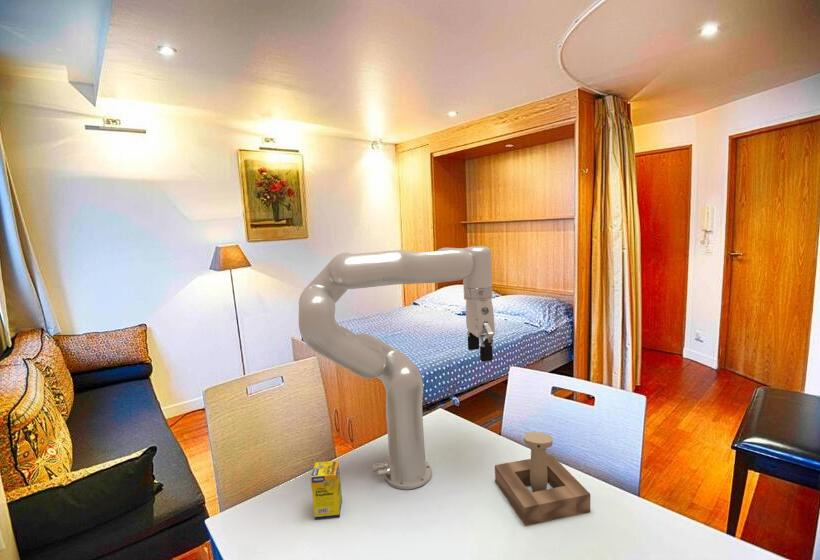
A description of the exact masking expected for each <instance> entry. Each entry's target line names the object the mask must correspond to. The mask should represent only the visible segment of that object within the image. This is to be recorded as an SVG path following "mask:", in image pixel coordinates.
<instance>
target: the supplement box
mask: <svg viewBox="0 0 820 560" xmlns="http://www.w3.org/2000/svg"><path fill="white" fill-rule="evenodd" d="M313 465H314V466H313V469H312V472H311V474H310V483H311V494H312V504H313V514H314V520H316V521H317V520H325V519H334V518H336V519H337V518H340V517H341V508H342V503H343V494H342V485H341V484H342V483H341V474H340V473H341V472H340V462H339V460H330V461H329V460H328V461H319V462H318V461H316V462H314V464H313Z"/></svg>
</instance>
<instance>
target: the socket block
mask: <svg viewBox="0 0 820 560" xmlns="http://www.w3.org/2000/svg"><path fill="white" fill-rule="evenodd" d="M530 463H531V458H527V459H523V460H522V459H521V460H520V459H519V460H515V461H510V462H505V463H499V464H495V465H494V480H495V481H494V482H495V483H496V485H497V486H498V487H499V490H501V492H502V494H503V496H504V497H505V499H506V501H508V503H509V505H510V506H511V507H512V510H513V511H514V512H515V514H516V515H517V516H518V518H519V520H520V522H521V523H522V525H523V526H524V527H527V526H532V525H537V524H542V523H546V522H550V521H551V522H552V521H555V520H560V519H565V518H569V517H574V516H577V515H584V514H588V513H591V493H590V492H589V491H588V490H587V488H585V486H584V485H582V484H581V483H580V482H579V481H578V480H577V478H576V477H575V476H573V475H572V473H570V472H569V470H568V469H567V468H566V467H565V466H563V464H562V463H561V462H560V461H559V460H558V459H557V458H556V457H555V456H554V455H553V454H549V455H546V463H547V484H549V485H550V487H551V488H548V489H546V490H542V491H537V492H532V491H529V489H528V488H527V487H531V482H530Z"/></svg>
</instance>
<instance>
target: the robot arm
mask: <svg viewBox="0 0 820 560" xmlns="http://www.w3.org/2000/svg"><path fill="white" fill-rule="evenodd" d="M492 267H493V266H492V251H491V248H490V247H488V246H485V245H481V246H480V245H478V246H477V245H475V246H474V245H473V246H468V247H463V248H461V247H460V248H459V247H458V248H457V247H442V248H439V249H437V250H436V251H420V252H419V251H411V250H410V251H409V250H401V249H400V250H386V251H383V250H382V251H376V252H375V251H374V252H360V253H349V252H341V253H339V254H336V256H334V257H333V258H332V259H331V260H330V261H329V262H328V263H327V264H326V265H325V267H324V268H323V269H322V270H321V271H320V272H319V273H318V274H317V275H316V276H315V277H314V278H313V279H312V280H311V281H310V283H309V284H308V285H307V286H306V287H305V288H304V289H303V290H302V292H301V294H300V295H299V299H298V327H299V328H298V329H299V333H300V336H301V338H302V340H303V341H304V343H305V344H306V346H308V347H309V349H311V350H313V352H316V353H317V354H319V355H321V356H322V357H324V358H326V359H327V360H329V361H331V362H333V363H334V364H336V365H338V366H340V367H342V368H344V369H345V370H347V371H349V372H351V373H352V374H354V375H356V376H358V377H360V378H362V379H366V380H372V379H376V378H377V379H379V380H380V381H381V382H382V385H383V386H384V389H385V415H386V418H385V419H386V428H387V441H388V456H387V457H386V459H387V460H383V462H378V463H372V464H371V465H372V472H373V473H374V472H377V473H378V476H383V475H384V478H385V479H384V480H385V481H386V483H388V484H389V485H390V486H391V487H393V488H396V489H399V490H412V489H417V488H421V487H422V486H424V485H426V483H428V482H429V481H430V479H431V478H432V467H431V465H430V463H428V461H426V450H425V434H424V433H425V432H424V418H423V416H424V415H423V395H424V380H423V377H422V375H421V372H420V370H419V369H418V367H417V365H415V364H414V362H413V361H411V360H410V358H409V357H407V355H406V354H404V352H402V351H400V350H398V349H396V348H395V347H393V346H391V345H389V344H388V343H386V342H384V341H382V340H380V339H379V338H377V337H376V336H373V335H372V334H369V333H364V332H362V333H354V332H353V331H352V330H350V329H348V328H346V327H344V326H342V325H340V324H339V323H338V322H337V321H336V317H335V314H336V303H337V302H338V301H339V300H340V298H342V297H343V295H345V293H346V292H347V291H348V290H355V289H356V290H358V289H366V288H376V287H385V286H393V285H394V286H396V285H415V284H416V285H417V284H436V283H447V282H453V281H454V282H456V281H463V284H462V285H463V299H464V300H465V301H466V303H465V320H466V321H465V322H466V329H467V331H466V333H467V334H466V335H467V350H469V351H474V350H479V360H480V361H481V362H489V361H493V356H494V355H493V344H494V342H493V341H494V337H495V336H496V327H495V326H496V325H495V315H494V313H495V312H494V306H493V301H492V300H493V271H492V270H493V269H492Z"/></svg>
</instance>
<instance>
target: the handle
mask: <svg viewBox="0 0 820 560" xmlns="http://www.w3.org/2000/svg"><path fill="white" fill-rule="evenodd" d="M523 442H524V444H525V445H526V446H527V447H529V448H530V459H531V463H530V482H531V486H530V487H531V493H532V492H537V491H542V490H547V488H548V482H547V463H546V456H547V452H546V451H547V449H549V448H551V447H552V446H553V436H551V435H550V434H547V433H544V432H537V431H534V432H533V431H532V432H527V433H525V434H524V435H523Z"/></svg>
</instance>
